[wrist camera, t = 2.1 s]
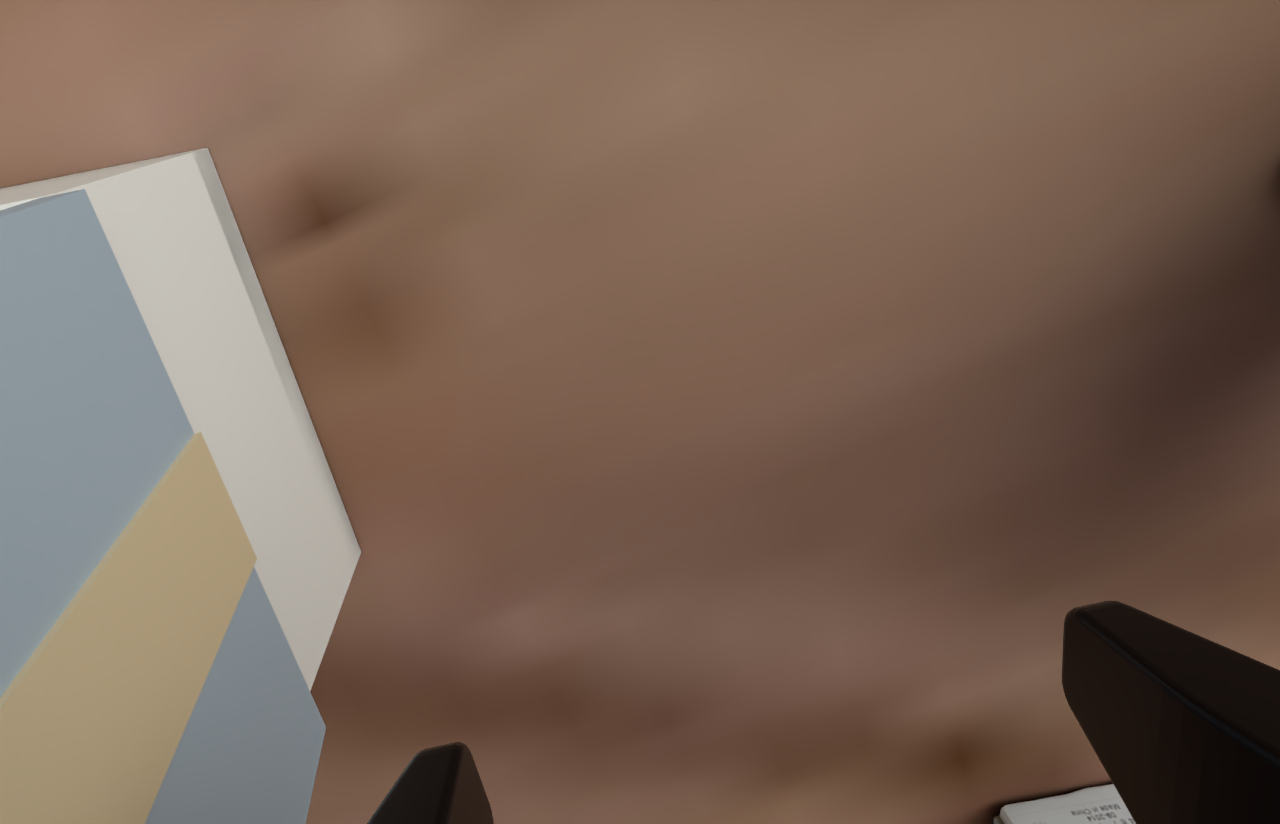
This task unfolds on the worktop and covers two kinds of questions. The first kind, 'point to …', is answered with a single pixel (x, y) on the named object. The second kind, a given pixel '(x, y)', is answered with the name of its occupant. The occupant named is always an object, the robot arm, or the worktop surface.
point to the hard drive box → (1070, 809)
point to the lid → (125, 569)
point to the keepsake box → (228, 377)
